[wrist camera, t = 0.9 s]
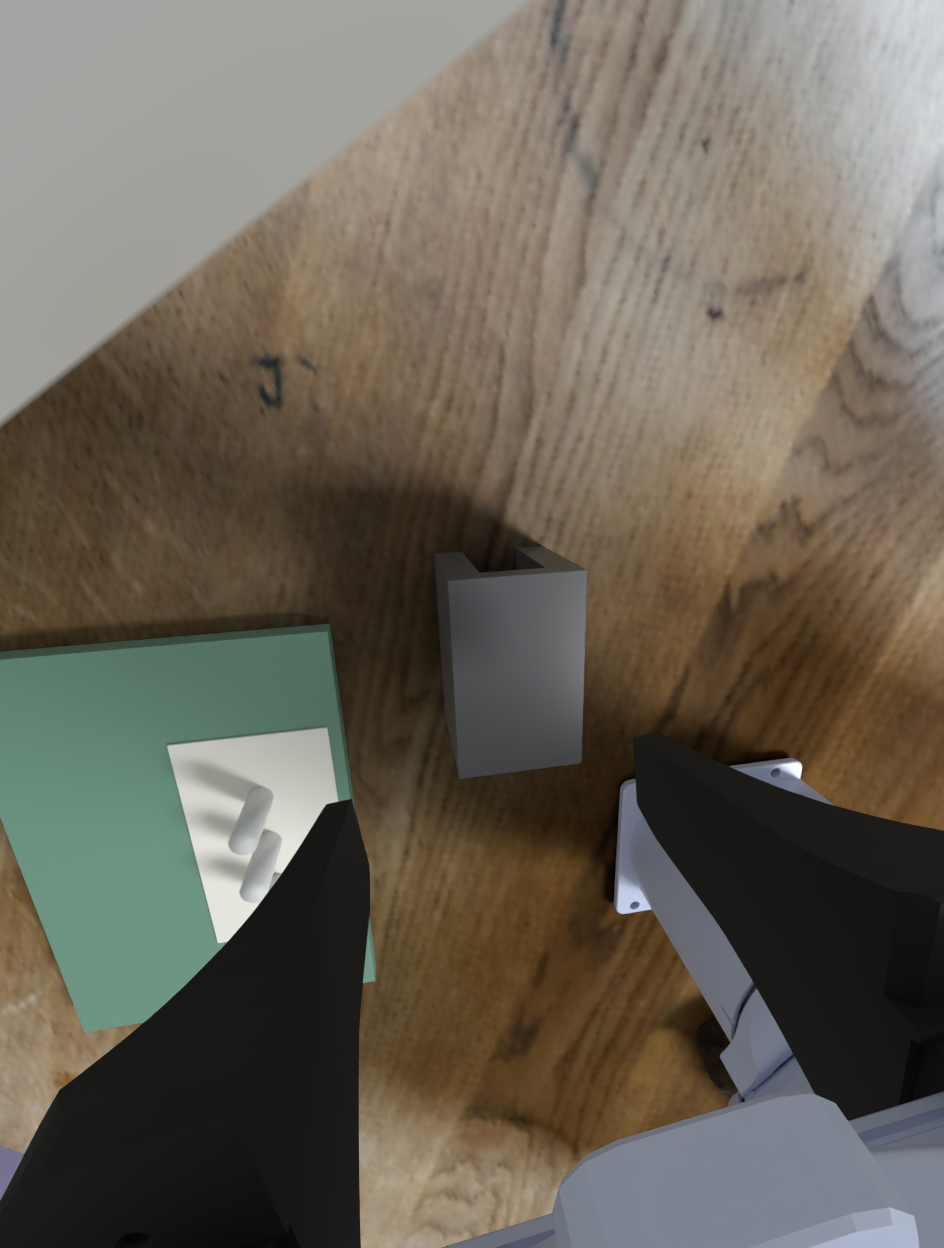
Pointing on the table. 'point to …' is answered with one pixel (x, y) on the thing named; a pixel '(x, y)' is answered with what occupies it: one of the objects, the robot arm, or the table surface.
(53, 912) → the header board
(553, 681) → the block
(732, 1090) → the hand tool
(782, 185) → the table surface
